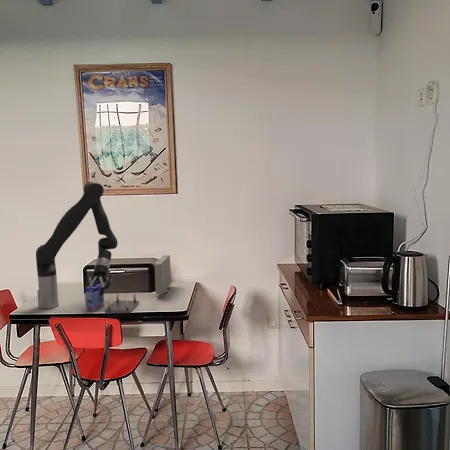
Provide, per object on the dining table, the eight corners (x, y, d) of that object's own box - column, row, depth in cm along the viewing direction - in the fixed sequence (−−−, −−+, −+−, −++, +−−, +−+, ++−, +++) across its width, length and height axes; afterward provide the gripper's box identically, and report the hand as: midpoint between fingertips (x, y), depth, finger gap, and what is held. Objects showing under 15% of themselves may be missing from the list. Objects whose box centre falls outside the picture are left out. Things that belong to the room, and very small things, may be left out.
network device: (166, 298, 247) (165, 263, 245) (151, 298, 248) (149, 263, 245) (174, 286, 272) (173, 254, 270) (160, 286, 273) (159, 254, 271)
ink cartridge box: (95, 311, 225) (93, 283, 224) (85, 311, 227) (83, 283, 225) (105, 305, 235) (102, 279, 233) (95, 305, 236) (93, 279, 235)
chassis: (104, 313, 223) (104, 302, 222) (115, 303, 239) (115, 293, 239) (130, 313, 222) (129, 302, 221) (139, 303, 238) (138, 293, 238)
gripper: (86, 264, 238) (79, 291, 228) (112, 263, 237) (106, 291, 227) (91, 271, 244) (84, 298, 234) (116, 271, 243) (110, 298, 232)
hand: (95, 294), depth 230 cm, fingers closed on ink cartridge box, 5 cm apart
